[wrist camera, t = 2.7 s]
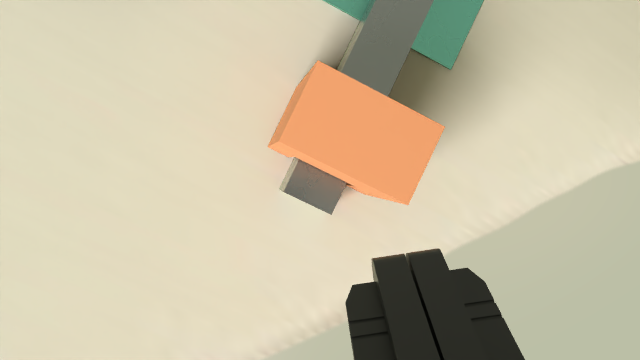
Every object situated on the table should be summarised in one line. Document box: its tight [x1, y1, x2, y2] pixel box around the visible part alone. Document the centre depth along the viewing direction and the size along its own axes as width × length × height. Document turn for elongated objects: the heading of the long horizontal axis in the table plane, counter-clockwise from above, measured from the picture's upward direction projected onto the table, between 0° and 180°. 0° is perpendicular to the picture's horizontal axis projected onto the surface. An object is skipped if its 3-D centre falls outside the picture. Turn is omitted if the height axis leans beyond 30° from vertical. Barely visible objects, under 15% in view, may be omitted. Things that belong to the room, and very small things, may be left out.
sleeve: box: [268, 61, 445, 205], centre depth 29 cm, size 4×7×9 cm, turn 64°
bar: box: [279, 0, 484, 215], centre depth 31 cm, size 20×10×5 cm, turn 154°
